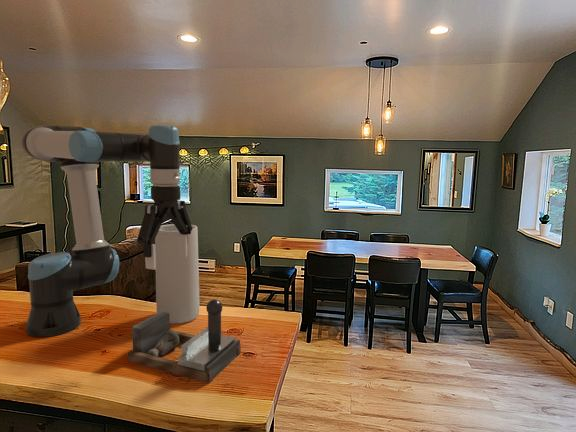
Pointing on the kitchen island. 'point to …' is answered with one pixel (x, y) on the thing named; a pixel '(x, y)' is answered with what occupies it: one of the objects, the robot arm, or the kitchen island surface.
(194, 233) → the vase
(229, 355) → the grey rectangular frame
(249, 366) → the kitchen island surface
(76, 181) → the robot arm
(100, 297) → the kitchen island surface
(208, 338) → the ram
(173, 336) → the stone
